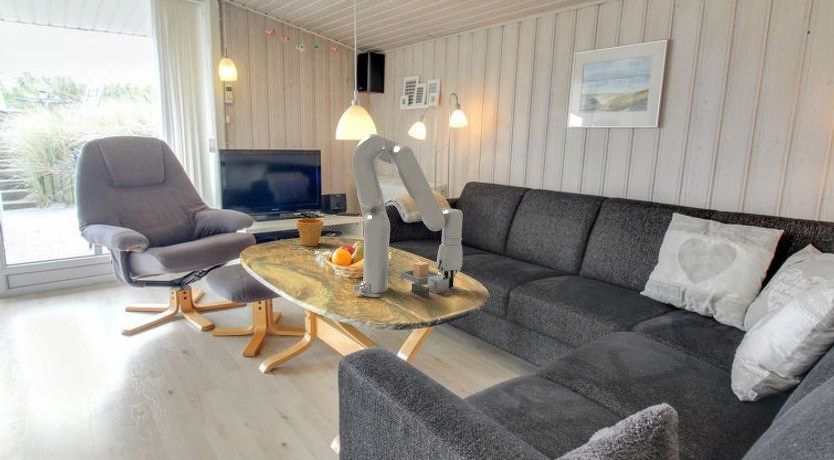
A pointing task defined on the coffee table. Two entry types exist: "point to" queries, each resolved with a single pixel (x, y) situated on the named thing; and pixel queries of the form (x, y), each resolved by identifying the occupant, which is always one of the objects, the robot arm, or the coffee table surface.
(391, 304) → the coffee table surface
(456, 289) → the slide board
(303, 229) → the flower pot
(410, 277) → the tray
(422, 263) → the light orange block
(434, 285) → the grey cube block
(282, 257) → the coffee table surface
